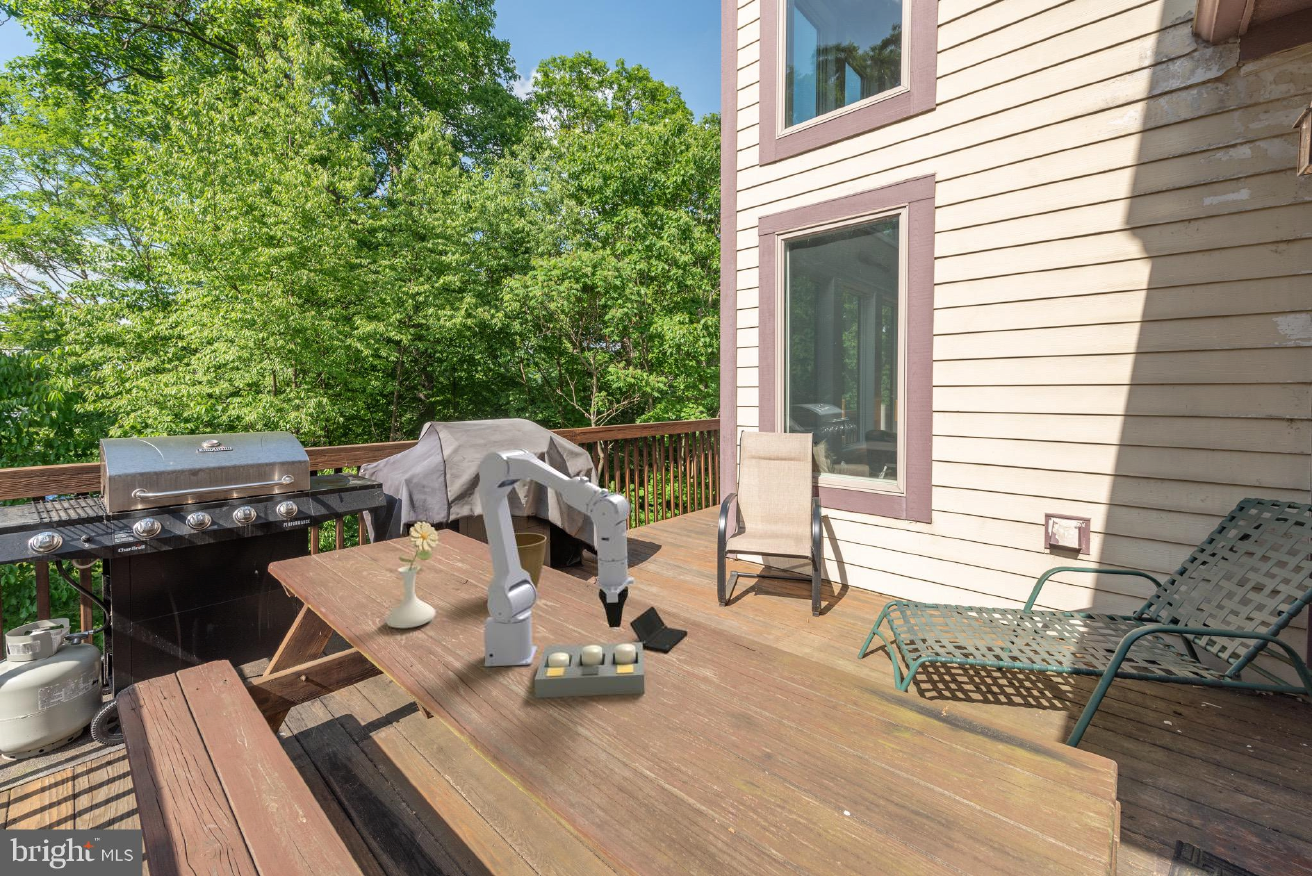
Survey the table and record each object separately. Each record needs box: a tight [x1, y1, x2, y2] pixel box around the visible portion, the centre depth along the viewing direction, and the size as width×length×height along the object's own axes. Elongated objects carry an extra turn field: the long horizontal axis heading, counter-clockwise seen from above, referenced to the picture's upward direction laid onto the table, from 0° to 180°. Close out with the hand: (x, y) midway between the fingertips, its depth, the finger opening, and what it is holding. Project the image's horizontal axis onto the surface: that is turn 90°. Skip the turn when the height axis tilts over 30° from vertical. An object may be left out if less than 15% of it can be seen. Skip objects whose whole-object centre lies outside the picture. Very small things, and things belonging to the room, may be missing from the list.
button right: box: [615, 644, 636, 665], centre depth 111 cm, size 4×4×3 cm
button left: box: [548, 653, 569, 667], centre depth 111 cm, size 4×4×3 cm
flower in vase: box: [385, 521, 439, 629], centre depth 140 cm, size 13×11×25 cm
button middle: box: [581, 645, 602, 666], centre depth 111 cm, size 4×4×3 cm
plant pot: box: [514, 532, 547, 590], centre depth 159 cm, size 15×15×16 cm
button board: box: [534, 641, 646, 699], centre depth 111 cm, size 20×14×4 cm
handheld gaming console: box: [629, 606, 688, 654], centre depth 128 cm, size 12×7×10 cm
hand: (614, 626), depth 111 cm, fingers closed
